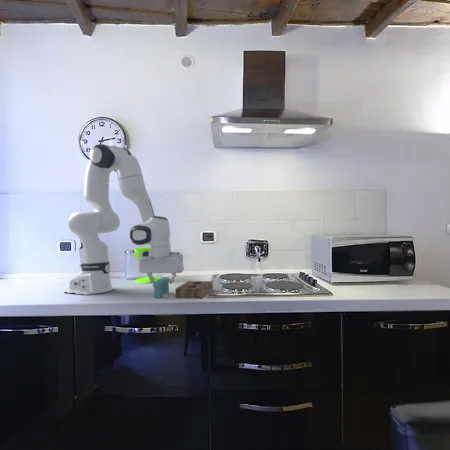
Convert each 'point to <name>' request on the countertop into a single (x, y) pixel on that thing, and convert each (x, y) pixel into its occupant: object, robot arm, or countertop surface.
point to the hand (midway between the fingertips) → (161, 282)
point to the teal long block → (161, 287)
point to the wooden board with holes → (193, 289)
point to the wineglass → (146, 279)
